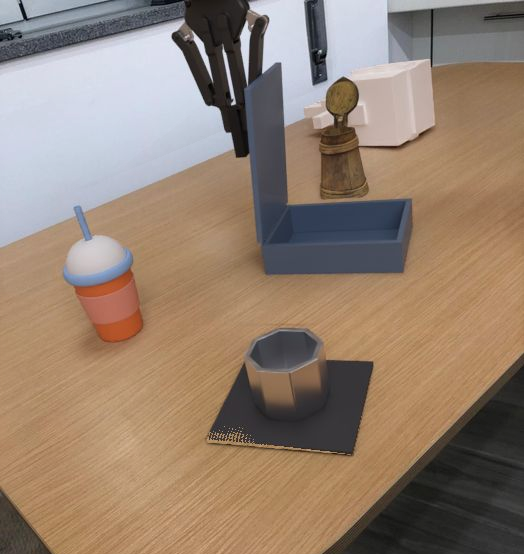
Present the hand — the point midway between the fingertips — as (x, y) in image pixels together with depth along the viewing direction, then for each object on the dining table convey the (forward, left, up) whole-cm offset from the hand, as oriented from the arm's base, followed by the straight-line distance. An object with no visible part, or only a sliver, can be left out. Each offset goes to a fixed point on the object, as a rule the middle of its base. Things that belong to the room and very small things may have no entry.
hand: (243, 154), depth 85 cm
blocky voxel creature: (-7, -58, -16) cm, 61 cm away
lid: (-4, 0, 0) cm, 4 cm away
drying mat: (-13, +34, -16) cm, 40 cm away
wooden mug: (-8, -27, -16) cm, 33 cm away
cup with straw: (+15, +21, -16) cm, 30 cm away
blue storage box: (-12, 0, -16) cm, 20 cm away
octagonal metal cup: (-13, +34, -16) cm, 40 cm away
